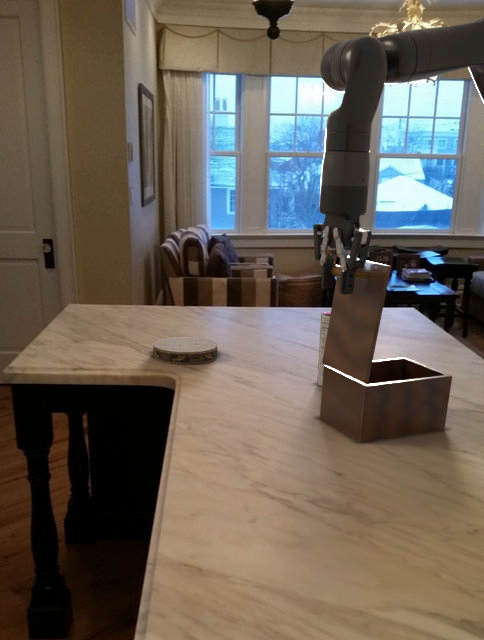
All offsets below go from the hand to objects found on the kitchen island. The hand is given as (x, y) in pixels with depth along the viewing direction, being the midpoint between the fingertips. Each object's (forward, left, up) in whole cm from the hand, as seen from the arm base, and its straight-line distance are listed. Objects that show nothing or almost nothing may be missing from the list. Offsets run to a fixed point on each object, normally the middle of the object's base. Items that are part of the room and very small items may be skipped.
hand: (336, 290), depth 117 cm
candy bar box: (+10, -31, -26) cm, 42 cm away
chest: (-7, -10, -26) cm, 28 cm away
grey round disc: (+51, -31, -26) cm, 65 cm away
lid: (-3, -4, -5) cm, 7 cm away
